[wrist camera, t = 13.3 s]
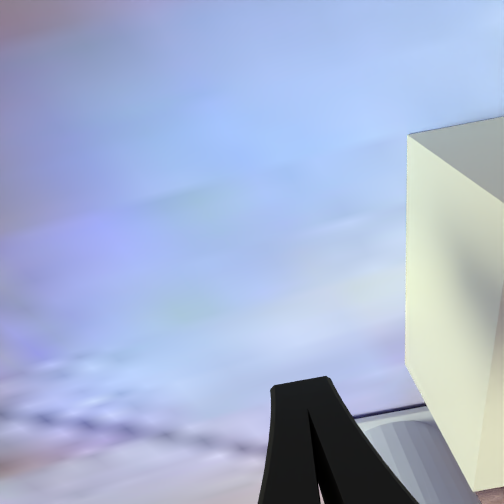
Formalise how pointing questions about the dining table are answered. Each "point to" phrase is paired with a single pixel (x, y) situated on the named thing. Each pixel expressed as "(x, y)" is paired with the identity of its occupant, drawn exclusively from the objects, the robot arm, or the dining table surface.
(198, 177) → the dining table surface
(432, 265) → the box
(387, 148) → the dining table surface
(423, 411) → the robot arm
